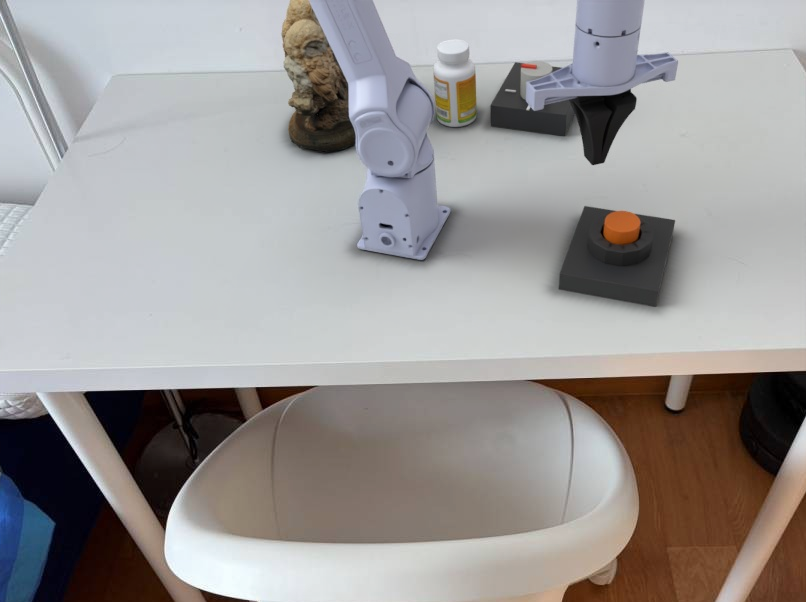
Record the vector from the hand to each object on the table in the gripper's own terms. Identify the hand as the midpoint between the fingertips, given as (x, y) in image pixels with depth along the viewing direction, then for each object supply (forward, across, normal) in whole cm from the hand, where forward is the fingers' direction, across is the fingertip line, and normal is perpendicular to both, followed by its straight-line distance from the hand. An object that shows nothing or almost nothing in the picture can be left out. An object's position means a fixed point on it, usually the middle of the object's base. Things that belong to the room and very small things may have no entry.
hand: (594, 159), depth 79 cm
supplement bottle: (+11, +4, -30) cm, 33 cm away
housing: (+10, -2, +4) cm, 11 cm away
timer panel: (+10, -6, -28) cm, 31 cm away
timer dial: (+7, -5, -27) cm, 28 cm away
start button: (+7, -1, +4) cm, 8 cm away
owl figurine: (+11, +19, -36) cm, 42 cm away
